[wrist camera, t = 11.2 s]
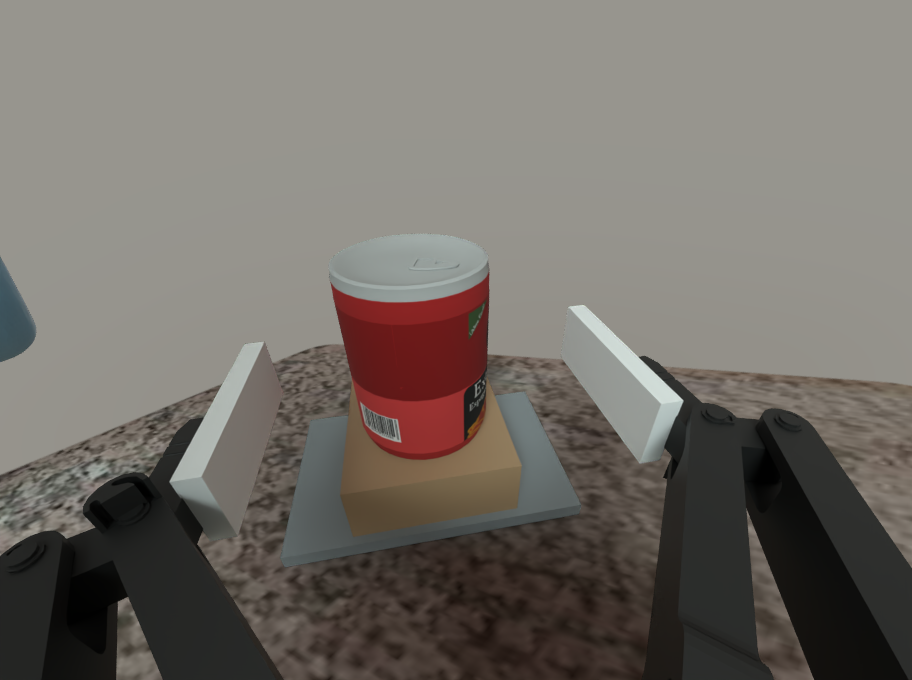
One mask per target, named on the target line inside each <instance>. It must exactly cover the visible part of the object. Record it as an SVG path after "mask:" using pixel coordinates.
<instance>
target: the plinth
mask: <svg viewBox="0 0 912 680" xmlns="http://www.w3.org/2000/svg"><path fill="white" fill-rule="evenodd" d="M580 508H581V503H580V501H579V499H578V497H577V495H576V493H575V491H574V489H573V487H572V485H571V483H570V481H569V479H568V477H567V475H566V473H565V471H564V469H563V467H562V465H561V463H560V461H559V459H558V457H557V455H556V453H555V451H554V449H553V447H552V445H551V443H550V441H549V439H548V437H547V435H546V433H545V431H544V429H543V427H542V425H541V423H540V421H539V419H538V417H537V415H536V413H535V411H534V409H533V407H532V405H531V403H530V401H529V399H528V397H527V395H526V393H525V391H524V392H517V393H509V394H502V395H494V393H493V391H492V388H491V386H490V383H489V380H488V378H487V381H486V412H485V416H484V420H483V422H482V424H481V426H480V428H479V430H478V432H477V434H476V435H475V437H474V438H473V439H472V440H471V441H470V442H469V443H468V444H467V445H465V446H464V447H463V448H461V449H460V450H458V451H456V452H454V453H451V454H449V455H446V456H443V457H439V458H435V459H427V460H411V459H405V458H400V457H397V456H394V455H392V454H389V453H387V452H386V451H384V450H382V449H381V448H379V447H378V446H377V445H376V444H375V443H374V442H373V440H372V439H371V438H370V436H369V435H368V434H367V432H366V430H365V429H364V427H363V424H362V419H361V415H360V411H359V406H358V402H357V398H356V393H355V389H354V385H353V380H352V385H351V395H350V404H349V414H348V415H345V416H338V417H330V418H323V419H316V420H311V421H310V426H309V430H308V435H307V439H306V444H305V448H304V453H303V457H302V462H301V466H300V471H299V475H298V480H297V484H296V489H295V493H294V498H293V503H292V507H291V512H290V516H289V521H288V525H287V530H286V534H285V539H284V543H283V548H282V552H281V557H280V559H281V561H282V563H283V565H284V566H285V567H290V566H295V565H301V564H306V563H312V562H317V561H323V560H328V559H334V558H339V557H345V556H350V555H356V554H361V553H367V552H372V551H378V550H383V549H389V548H394V547H400V546H406V545H411V544H417V543H422V542H428V541H433V540H439V539H444V538H450V537H455V536H461V535H466V534H472V533H477V532H483V531H488V530H494V529H499V528H505V527H510V526H516V525H521V524H527V523H532V522H538V521H544V520H549V519H555V518H560V517H566V516H571V515H577V514H579V512H580Z"/></svg>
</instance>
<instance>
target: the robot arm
mask: <svg viewBox="0 0 912 680" xmlns="http://www.w3.org/2000/svg"><path fill="white" fill-rule="evenodd" d="M35 336H36V326H35V323H34V320H33V318H32V316H31V314H30V312H29V310H28V308H27V306H26V304H25V302H24V300H23V298H22V297H21V295H20V293H19V291H18V289H17V287H16V285H15V283H14V282H13V280H12V278H11V276H10V274H9V272H8V270H7V268H6V266H5V264H4V263H3V261H2V259H1V257H0V362H2V361H5V360H8V359H10V358H13V357H15V356H17V355H19V354H21V353H22V352H24V351H25V350H26V349H27V348H28V347H29V346H30V345H31V344H32V343H33V341H34V339H35ZM561 357H562V359H563V360H564V362H565V363H566V364H567V366H568V367H569V368H570V370H571V371H572V372H573V374H574V375H575V376H576V378H577V379H578V380H579V382H580V383H581V385H582V386H583V387H584V389H585V390H586V391H587V393H588V394H589V395H590V397H591V398H592V399H593V401H594V402H595V404H596V405H597V406H598V408H599V409H600V410H601V412H602V413H603V414H604V416H605V417H606V418H607V420H608V421H609V423H610V424H611V425H612V427H613V428H614V429H615V431H616V432H617V433H618V435H619V436H620V437H621V439H622V440H623V442H624V443H625V444H626V446H627V447H628V448H629V450H630V451H631V452H632V454H633V455H634V456H635V458H636V459H637V461H638V462H639V463H640V464H641V463H646V462H652V461H657V460H660V458H661V456H662V453H663V451H664V448H665V449H666V450H667V451H668V452H669V453H670V454H671V456H672V458H671V460H670V462H669V465H668V467H667V470H666V472H665V474H664V477H663V478H665V479H667V486H666V494H665V503H664V511H663V520H662V528H661V537H660V545H659V554H658V562H657V571H656V579H655V588H654V596H653V605H652V613H651V622H650V630H649V639H648V647H647V656H646V663H645V669H644V673H643V676H642V680H774V679H773V676H772V673H771V671H770V669H769V667H767V666H766V665H765V664H763V663H762V662H761V660H760V658H759V655H758V648H757V636H756V624H755V611H754V599H753V586H752V574H751V562H750V549H749V537H748V525H747V512H746V508H747V511H748V513H749V516H750V518H751V521H752V523H753V526H754V528H755V531H756V533H757V536H758V538H759V541H760V544H761V546H762V549H763V551H764V554H765V556H766V559H767V561H768V564H769V566H770V569H771V571H772V574H773V576H774V579H775V582H776V584H777V587H778V589H779V592H780V594H781V597H782V599H783V602H784V604H785V607H786V609H787V612H788V614H789V617H790V620H791V622H792V625H793V627H794V630H795V632H796V635H797V637H798V640H799V642H800V645H801V647H802V650H803V652H804V655H805V658H806V660H807V663H808V665H809V668H810V670H811V673H812V675H813V678H814V680H912V568H911V567H910V565H909V564H908V562H907V561H906V559H905V558H904V557H903V555H902V554H901V552H900V551H899V549H898V548H897V546H896V545H895V544H894V542H893V541H892V539H891V538H890V536H889V535H888V533H887V532H886V531H885V529H884V528H883V526H882V525H881V523H880V522H879V521H878V519H877V518H876V516H875V515H874V513H873V512H872V510H871V509H870V508H869V506H868V505H867V503H866V502H865V500H864V499H863V498H862V496H861V495H860V493H859V492H858V490H857V489H856V487H855V486H854V485H853V483H852V482H851V480H850V479H849V477H848V476H847V475H846V473H845V472H844V470H843V469H842V467H841V466H840V464H839V463H838V462H837V460H836V459H835V457H834V456H833V454H832V453H831V451H830V450H829V449H828V447H827V446H826V444H825V443H824V441H823V440H822V439H821V437H820V436H819V434H818V433H817V431H816V430H815V428H814V427H813V426H812V425H811V424H810V423H809V422H808V421H807V420H805V419H804V418H802V417H801V416H799V415H797V414H795V413H793V412H790V411H786V410H782V409H768V410H765V411H764V413H763V414H762V416H761V417H760V419H759V420H756V419H745V418H736V417H735V416H734V415H733V414H732V413H731V412H730V411H728V410H726V409H725V408H723V407H720V406H718V405H715V404H709V403H702V402H701V401H699V400H698V399H697V398H696V397H695V396H694V395H693V394H692V393H691V392H690V391H689V390H687V389H686V388H685V387H684V386H683V385H682V384H681V383H680V382H679V381H678V380H675V378H674V377H673V376H672V375H671V374H670V373H667V370H666V369H664V368H663V367H662V366H661V365H660V364H659V363H658V362H655V361H654V360H652V359H650V358H648V357H646V356H641V357H638V356H637V355H635V354H634V353H633V352H632V351H631V350H630V349H629V348H628V347H627V346H626V345H625V344H624V343H623V342H622V341H621V340H620V339H619V338H618V337H617V336H616V335H615V334H614V333H613V332H612V331H610V330H609V329H608V328H607V327H606V326H605V325H604V324H603V323H602V322H601V321H600V320H599V319H598V318H597V317H596V316H595V315H594V314H593V313H592V312H591V311H590V310H589V309H588V308H586V307H585V306H584V305H580V306H571V307H568V312H567V318H566V325H565V332H564V338H563V344H562V352H561ZM282 396H283V391H282V388H281V386H280V383H279V380H278V377H277V375H276V372H275V369H274V366H273V364H272V361H271V358H270V355H269V353H268V350H267V347H266V344H265V342H256V343H247V344H244V346H243V348H242V349H241V351H240V353H239V355H238V357H237V359H236V360H235V362H234V364H233V366H232V368H231V370H230V371H229V373H228V375H227V377H226V379H225V381H224V382H223V384H222V386H221V388H220V390H219V392H218V393H217V395H216V397H215V399H214V401H213V403H212V404H211V406H210V408H209V410H208V412H207V414H206V415H205V417H204V418H198V419H191V420H189V421H188V422H187V423H186V424H185V425H184V426H183V427H181V428H180V429H179V430H178V431H177V432H176V434H175V436H174V437H173V439H172V441H171V442H170V444H169V447H167V449H166V450H165V452H164V454H163V457H162V458H161V459H160V460H159V462H158V464H157V465H156V467H155V469H154V470H153V472H152V474H151V475H150V477H148V476H146V475H145V474H143V473H136V472H133V473H129V474H124V475H121V476H119V477H116V478H114V479H112V480H110V481H108V482H107V483H105V484H104V485H102V486H101V487H99V488H98V489H97V490H96V491H95V492H94V493H93V494H92V495H91V496H89V498H88V499H87V501H86V503H85V504H84V506H83V514H84V516H85V517H86V518H87V519H88V520H89V521H90V522H91V523H92V524H93V525H94V526H95V527H96V528H93V529H91V530H88V531H86V532H83V533H80V534H78V535H75V536H73V537H70V538H68V539H66V538H65V537H64V536H63V535H62V534H60V533H58V532H56V531H44V532H41V533H38V534H35V535H32V536H30V537H28V538H26V539H24V540H22V541H20V542H19V543H17V544H15V545H14V546H13V547H11V548H10V549H9V550H7V551H6V552H5V553H3V554H2V555H1V556H0V680H116V659H117V612H118V601H120V600H122V599H124V598H126V597H129V600H130V602H131V604H132V607H133V609H134V611H135V614H136V616H137V619H138V621H139V623H140V626H141V628H142V631H143V633H144V635H145V638H146V640H147V642H148V645H149V647H150V650H151V652H152V654H153V657H154V659H155V661H156V664H157V666H158V669H159V671H160V673H161V676H162V678H163V680H284V679H283V678H282V676H281V674H280V673H279V671H278V670H277V668H276V667H275V665H274V663H273V662H272V660H271V659H270V657H269V656H268V654H267V652H266V651H265V649H264V648H263V646H262V645H261V643H260V641H259V640H258V638H257V637H256V635H255V634H254V632H253V630H252V629H251V627H250V626H249V624H248V623H247V621H246V619H245V618H244V616H243V615H242V613H241V612H240V610H239V608H238V607H237V605H236V604H235V602H234V600H233V599H232V597H231V596H230V594H229V593H228V591H227V589H226V588H225V586H224V585H223V583H222V582H221V580H220V578H219V577H218V575H217V574H216V572H215V571H214V569H213V567H212V566H211V564H210V563H209V561H208V560H207V558H206V556H205V555H204V553H203V552H202V550H201V549H200V547H199V546H198V545H197V543H198V541H199V538H200V536H201V533H202V531H204V533H205V534H206V536H207V537H208V539H209V540H210V541H215V540H220V539H226V538H231V537H237V536H238V534H239V531H240V528H241V525H242V522H243V518H244V515H245V512H246V509H247V506H248V503H249V500H250V496H251V493H252V490H253V487H254V484H255V481H256V478H257V474H258V471H259V468H260V465H261V462H262V459H263V456H264V452H265V449H266V446H267V443H268V440H269V437H270V434H271V430H272V427H273V424H274V421H275V418H276V415H277V411H278V408H279V405H280V402H281V399H282Z"/></svg>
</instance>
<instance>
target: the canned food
mask: <svg viewBox="0 0 912 680" xmlns="http://www.w3.org/2000/svg"><path fill="white" fill-rule="evenodd" d="M328 267H329V272H330V274H329V275H330V276H329V278H330V283H331V287H332V291H333V298H334V302H335V307H336V311H337V315H338V320H339V324H340V328H341V333H342V337H343V341H344V346H345V350H346V354H347V359H348V363H349V367H350V372H351V376H352V380H353V385H354V389H355V393H356V398H357V402H358V406H359V411H360V415H361V419H362V424H363V427H364V429H365V430H366V432H367V434H368V435H369V436H370V438H371V439H372V440H373V442H374V443H375V444H376V445H377V446H378V447H379V448H381V449H382V450H384V451H386V452H387V453H389V454H392V455H394V456H397V457H400V458H405V459H411V460H427V459H435V458H439V457H443V456H446V455H449V454H451V453H454V452H456V451H458V450H460V449H461V448H463V447H464V446H465V445H467V444H468V443H469V442H470V441H471V440H472V439H473V438H474V437H475V435H476V434H477V432H478V430H479V428H480V426H481V424H482V422H483V420H484V416H485V412H486V381H487V348H488V347H487V346H488V314H489V264H488V254H487V253H486V251H485V250H484V249H483V248H481V247H480V246H479V245H477V244H475V243H473V242H470V241H467V240H464V239H461V238H457V237H451V236H445V235H435V234H407V235H394V236H386V237H381V238H376V239H371V240H368V241H364V242H361V243H358V244H355V245H352V246H350V247H348V248H346V249H344V250H342V251H340V252H339V253H338V254H336V255H335V256H334V257H333V258H332V259H331V260H330V262H329V265H328Z"/></svg>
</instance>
